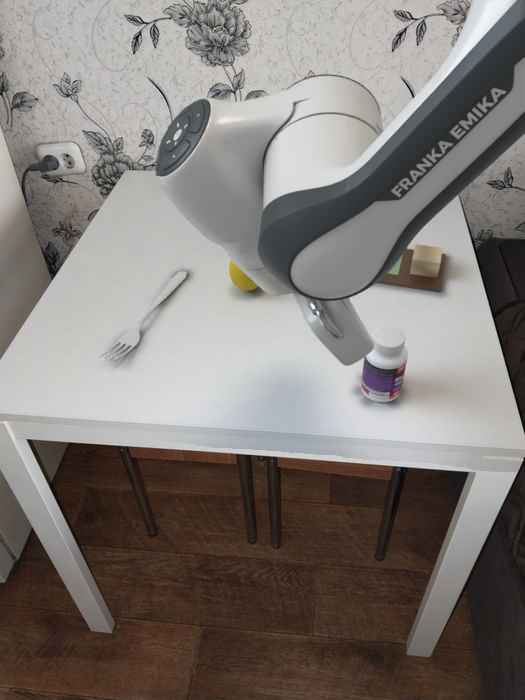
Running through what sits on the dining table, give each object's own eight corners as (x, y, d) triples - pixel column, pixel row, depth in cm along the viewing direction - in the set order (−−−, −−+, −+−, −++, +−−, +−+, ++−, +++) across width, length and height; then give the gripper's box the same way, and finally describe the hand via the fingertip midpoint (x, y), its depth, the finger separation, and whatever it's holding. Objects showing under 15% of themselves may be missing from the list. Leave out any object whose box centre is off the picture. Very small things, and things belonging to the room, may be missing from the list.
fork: (193, 273, 100) (192, 265, 99) (117, 370, 84) (115, 362, 83) (176, 269, 101) (175, 261, 100) (98, 365, 85) (95, 356, 84)
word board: (445, 256, 101) (448, 238, 98) (440, 292, 94) (444, 274, 92) (330, 241, 105) (331, 223, 103) (317, 273, 99) (318, 256, 96)
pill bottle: (399, 406, 77) (409, 354, 71) (358, 400, 78) (364, 347, 72) (402, 377, 81) (412, 324, 74) (362, 371, 82) (369, 319, 75)
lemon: (266, 280, 98) (264, 239, 92) (263, 301, 94) (261, 260, 88) (233, 279, 98) (230, 238, 93) (229, 300, 94) (225, 259, 89)
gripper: (350, 298, 50) (412, 367, 59) (279, 174, 63) (339, 246, 73) (291, 340, 51) (360, 400, 61) (233, 210, 65) (298, 276, 74)
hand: (348, 315), depth 67 cm, fingers open, 8 cm apart
